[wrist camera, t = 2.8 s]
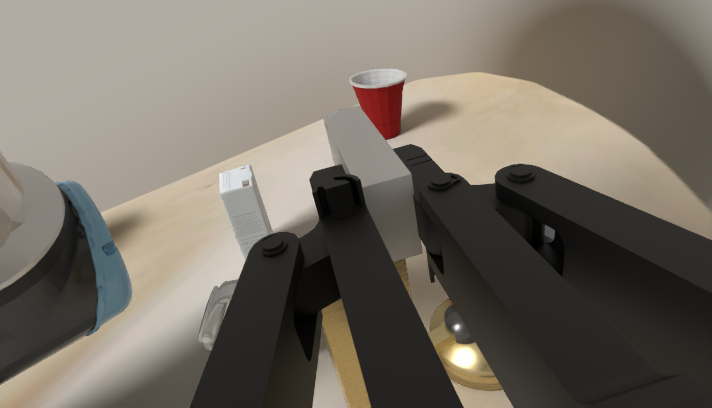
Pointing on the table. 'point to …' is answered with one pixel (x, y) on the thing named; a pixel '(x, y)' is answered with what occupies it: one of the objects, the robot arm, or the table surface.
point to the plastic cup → (381, 98)
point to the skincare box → (244, 207)
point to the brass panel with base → (444, 333)
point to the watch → (215, 313)
